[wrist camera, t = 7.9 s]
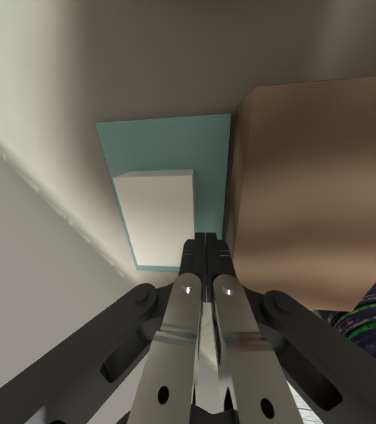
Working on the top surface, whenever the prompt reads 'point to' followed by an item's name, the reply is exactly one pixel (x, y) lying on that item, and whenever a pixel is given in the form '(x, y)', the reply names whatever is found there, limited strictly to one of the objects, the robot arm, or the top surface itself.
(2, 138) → the top surface
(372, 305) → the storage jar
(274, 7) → the top surface
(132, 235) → the off-white foam block
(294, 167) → the brown wooden block
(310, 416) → the syrup box
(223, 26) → the top surface
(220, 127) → the mat
